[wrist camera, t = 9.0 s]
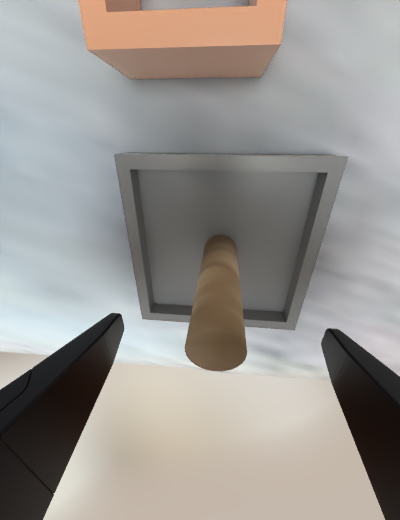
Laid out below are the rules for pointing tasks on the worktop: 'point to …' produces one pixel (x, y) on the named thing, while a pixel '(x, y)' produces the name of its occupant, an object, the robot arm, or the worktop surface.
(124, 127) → the worktop surface
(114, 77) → the worktop surface
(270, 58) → the terracotta square hollow block
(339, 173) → the charcoal tray
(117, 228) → the worktop surface
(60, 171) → the worktop surface
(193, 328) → the dowel pin
